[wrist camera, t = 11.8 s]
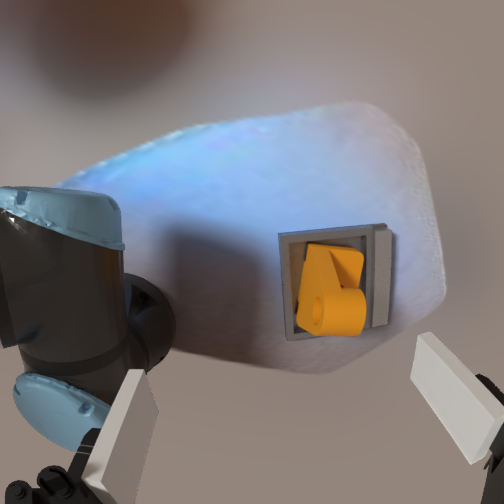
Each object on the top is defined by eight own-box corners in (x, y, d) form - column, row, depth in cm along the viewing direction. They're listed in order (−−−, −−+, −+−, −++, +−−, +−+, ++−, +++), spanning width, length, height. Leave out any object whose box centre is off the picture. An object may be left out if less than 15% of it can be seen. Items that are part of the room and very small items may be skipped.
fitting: (285, 334, 45) (287, 343, 43) (278, 233, 41) (280, 237, 39) (380, 319, 45) (387, 327, 43) (384, 223, 41) (391, 226, 39)
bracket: (343, 318, 44) (372, 364, 33) (295, 316, 44) (312, 365, 32) (357, 247, 42) (397, 276, 30) (307, 242, 41) (332, 271, 29)
